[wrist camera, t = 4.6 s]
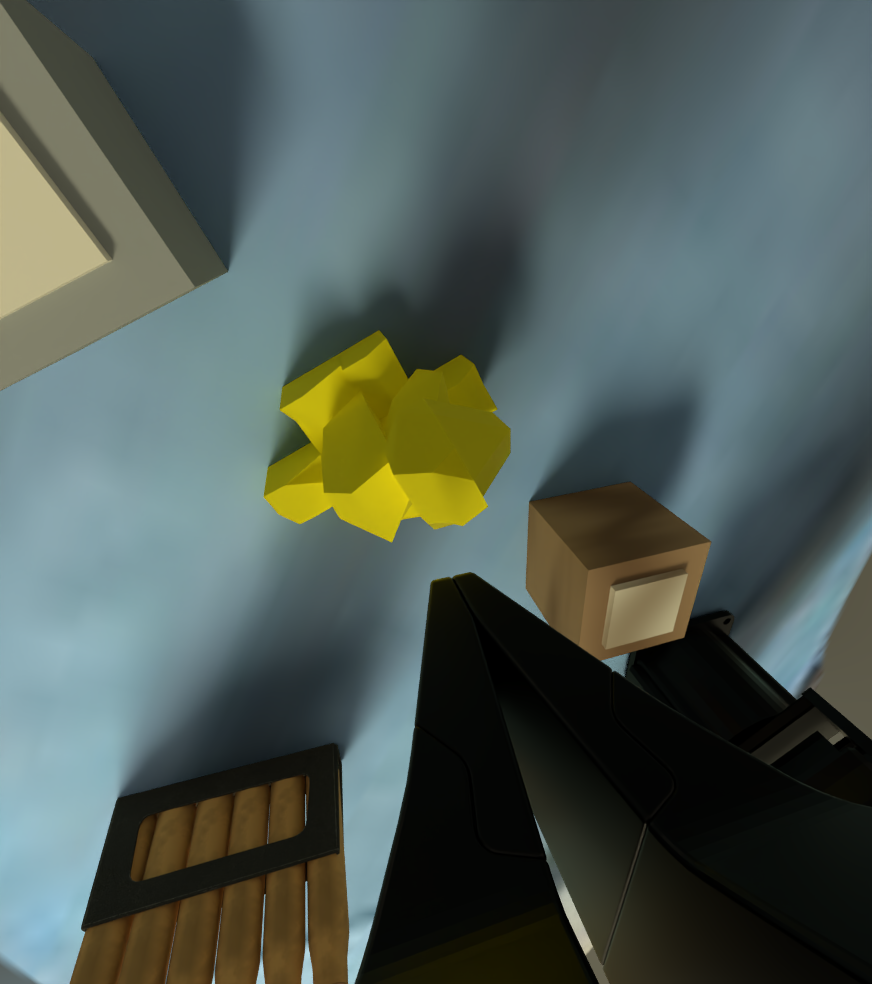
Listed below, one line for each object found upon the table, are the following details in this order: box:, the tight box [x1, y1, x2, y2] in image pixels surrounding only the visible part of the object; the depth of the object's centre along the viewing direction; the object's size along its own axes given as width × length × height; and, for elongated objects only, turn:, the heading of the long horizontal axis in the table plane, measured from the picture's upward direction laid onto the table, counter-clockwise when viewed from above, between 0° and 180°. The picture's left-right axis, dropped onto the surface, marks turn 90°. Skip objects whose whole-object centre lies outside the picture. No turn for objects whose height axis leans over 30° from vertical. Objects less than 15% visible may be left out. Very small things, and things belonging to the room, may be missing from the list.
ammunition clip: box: [70, 743, 349, 984], centre depth 19 cm, size 11×2×12 cm, turn 92°
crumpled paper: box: [264, 330, 510, 542], centre depth 14 cm, size 6×8×8 cm
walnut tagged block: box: [526, 482, 711, 661], centre depth 20 cm, size 5×5×5 cm
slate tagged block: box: [0, 0, 228, 391], centre depth 10 cm, size 5×5×5 cm
